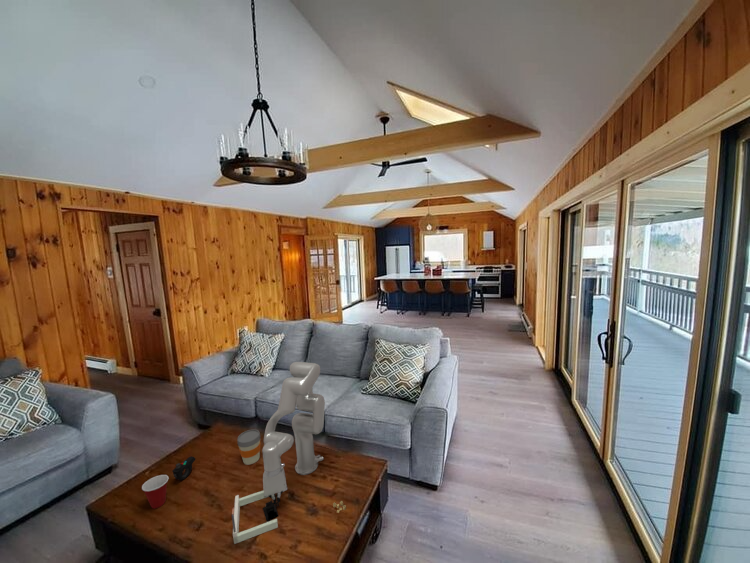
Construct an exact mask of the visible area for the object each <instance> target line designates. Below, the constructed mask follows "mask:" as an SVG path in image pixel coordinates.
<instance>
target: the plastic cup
mask: <svg viewBox="0 0 750 563" xmlns="http://www.w3.org/2000/svg"><path fill="white" fill-rule="evenodd" d="M169 479H170V478H169V476H168V475H167V474H160V475H156V476H153V477H151V478H149V479H148V480H147V481H145V482H144V483H143V484H142V485H141V490H142V491H143V492H144V495H145V496H146V499H147V501H148V503H149V505H150V507H151V508H152V509H158V508H160V507H162V506H163V505H164V504H165V503H166V500H167V488H168V486H167V485H168V481H169Z"/></svg>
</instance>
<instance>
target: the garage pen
mask: <svg viewBox="0 0 750 563" xmlns="http://www.w3.org/2000/svg"><path fill="white" fill-rule="evenodd" d="M266 498H267V497H265V498H264V489H263V490H261V491H258V492H254V493H251V494H249V495H246V496H243V497H240V495H239V494H237V495H235V497H234V507H232V512H231V521H232V537H233V538H232V539H233V544H234V545H235V544H238V543H241V542H243V541H247V540H249V539H251V538H253V537H257V536H259V535H261V534H264V533H268V532H270V531H272V530H275V529H277V528H279V526H278V518H275V519H273V520H271V521H269V522H267V521H266V522H264V523H261V524H259V525H258V524H257V525H256V526H253V527H251V528H248V529H245V530H242V531H240V529H239V528H240V526H239V525H240V509H241V508H240V507H242V506H246V505H247V504H251V503H253V502H257V501H259V500H263V499H266Z"/></svg>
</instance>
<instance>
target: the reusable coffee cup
mask: <svg viewBox="0 0 750 563" xmlns="http://www.w3.org/2000/svg"><path fill="white" fill-rule="evenodd" d="M261 438H262V437H261V433H260V431H259V429H254V428H253V429H248V430H245V431H244V432H241V433H240V434H239V435H238V436H237V446H238V451H239V455H240V456H241V458H242V462H243V464H244V465H246V466H247V465H249V466H250V465H253V464H255V463H256V462H258V461H259V459H260V457H261V456H260V455H261V453H260V452H261V445H262V444H261Z"/></svg>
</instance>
